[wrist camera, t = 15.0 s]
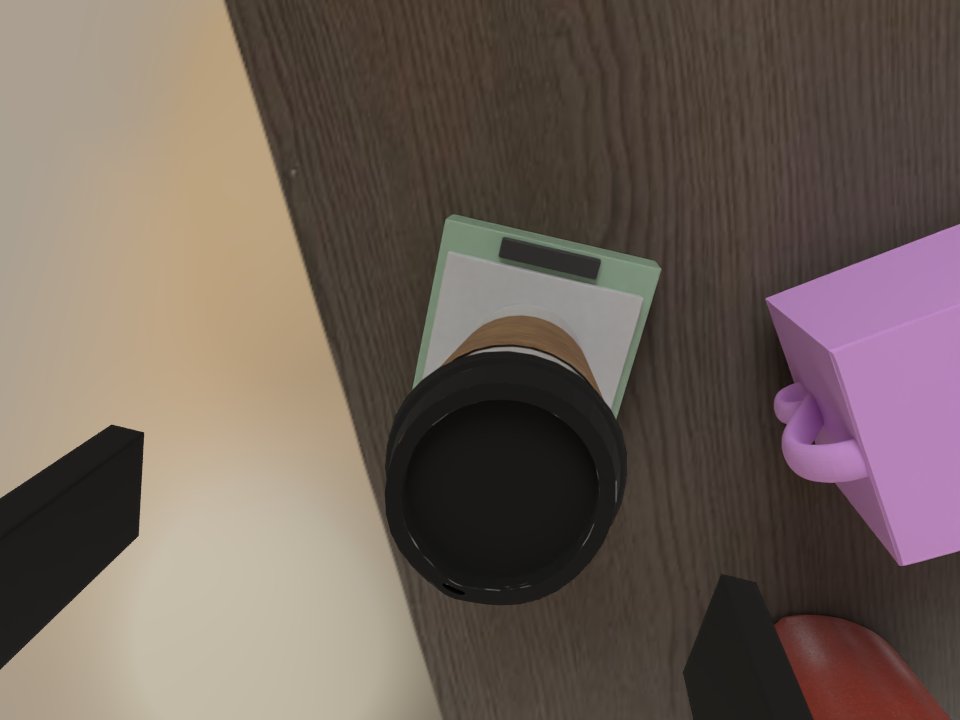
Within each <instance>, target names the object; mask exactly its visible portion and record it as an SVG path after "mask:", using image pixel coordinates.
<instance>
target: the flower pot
mask: <svg viewBox="0 0 960 720" xmlns="http://www.w3.org/2000/svg"><path fill="white" fill-rule="evenodd" d="M774 626H775V629H776V631H777V633H778V636H779V638H780V640H781V643H782V645H783V647H784V650H785V652H786V655H787V657H788V659H789V662H790V664H791V666H792V669H793V671H794V674H795V676H796V678H797V681H798V683H799V685H800V688H801V690H802V692H803V695H804V697H805V700H806V702H807V704H808V707H809V709H810V711H811V714H812V716H813V718H814V720H951V719H950V717H949V716H948V715H947V714H946V712H945V711H944V710H943V709H942V707H941V706H940V705H939V704H938V702H937V701H936V700H935V699H934V698H933V696H932V695H931V694H930V693H929V691H928V690H927V689H926V688H925V687H924V685H923V684H922V683H921V682H920V680H919V679H918V678H917V677H916V675H915V674H914V673H913V672H912V670H911V669H910V668H909V667H908V665H907V664H906V663H905V662H904V660H903V659H902V658H901V657H900V655H899V654H898V653H897V652H896V650H895V649H894V648H893V647H892V646H891V645H890V644H889V643H888V642H887V641H885V640H884V639H883V638H881V637H880V636H879V635H877V634H876V633H875V632H873V631H871V630H869V629H867V628H866V627H863V626H861V625H859V624H856V623H854V622H851V621H848V620H845V619H841V618H836V617H831V616H824V615H795V616H788V617H784V618H782V619H780V620H779V621H778V622H777V623H776V624H774Z"/></svg>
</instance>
